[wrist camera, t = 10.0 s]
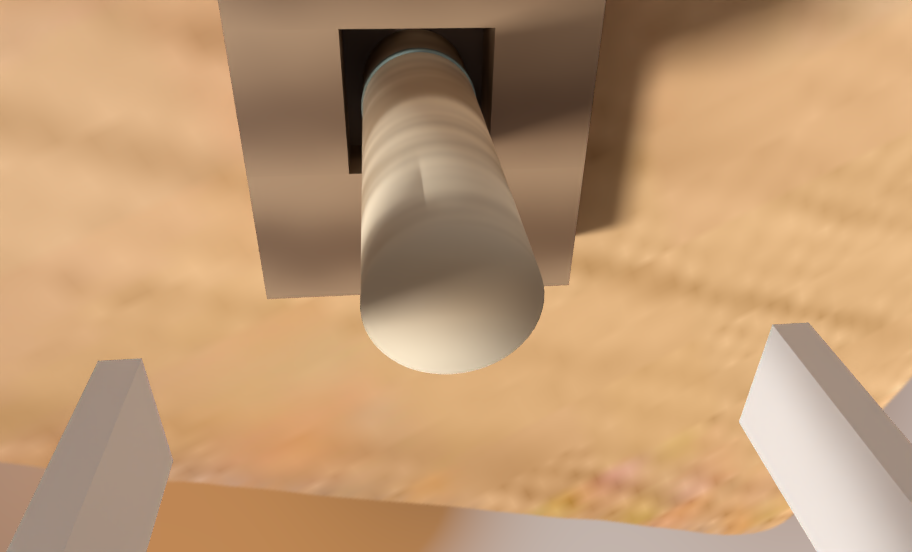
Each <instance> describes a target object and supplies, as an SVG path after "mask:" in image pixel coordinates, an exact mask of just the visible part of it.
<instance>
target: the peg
mask: <svg viewBox="0 0 912 552" xmlns="http://www.w3.org/2000/svg"><path fill="white" fill-rule="evenodd" d="M361 111H362V118H363V121H362V206H361V292H360V311H361V317H362V321H363V324H364V327H365V330H366V332H367V334H368V335H369V337H370V339H371V340H372V341H373V343H374V344H375V345H376V346H377V347H378V348H379V349H380V351H381V352H383V353H384V354H385V355H386V356H388V357H389V358H390V359H392V360H394V361H395V362H397V363H399V364H401V365H403V366H406V367H408V368H411V369H414V370H417V371H421V372H426V373H433V374H457V373H465V372H470V371H474V370H478V369H481V368H484V367H487V366H489V365H491V364H494V363H496V362H498V361H499V360H501V359H503V358H505V357H506V356H508V355H509V354H511V353H512V352H513V351H515V350H516V349H517V348H518V347H519V346H520V345H521V344H522V343H523V342H524V341H525V340H526V339H527V338H528V337H529V335H530V334H531V332H532V331H533V330H534V328H535V326H536V324H537V322H538V320H539V318H540V315H541V312H542V309H543V303H544V285H543V280H542V276H541V273H540V270H539V267H538V265H537V262H536V259H535V257H534V254H533V251H532V248H531V246H530V243H529V240H528V237H527V235H526V232H525V229H524V227H523V224H522V221H521V218H520V216H519V213H518V210H517V208H516V205H515V202H514V199H513V197H512V194H511V191H510V188H509V186H508V183H507V180H506V178H505V175H504V172H503V169H502V167H501V164H500V161H499V159H498V156H497V153H496V150H495V148H494V145H493V142H492V139H491V137H490V134H489V131H488V129H487V126H486V123H485V120H484V118H483V115H482V112H481V110H480V107H479V104H478V101H477V99H476V93H475V90H474V87H473V84H472V82H471V80H470V77H469V76H468V74H467V71H466V69H465V66H464V63H463V61H462V59H461V56H460V54H459V53H458V51H457V50H456V49H455V47H454V46H453V45H452V44H451V43H450V42H449V41H448V40H447V39H445V38H444V37H442V36H440V35H438V34H436V33H434V32H431V31H428V30H424V29H406V30H401V31H398V32H395V33H393V34H391V35H389V36H387V37H386V38H384V39H383V40H381V41H380V42H379V43H378V44H377V45H376V46H375V48H374V49H373V50H372V52H371V53H370V55H369V57H368V59H367V61H366V64H365V67H364V72H363V92H362V99H361Z"/></svg>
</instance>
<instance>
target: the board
mask: <svg viewBox="0 0 912 552" xmlns="http://www.w3.org/2000/svg"><path fill="white" fill-rule="evenodd" d="M218 4H219V10H220V16H221V22H222V28H223V34H224V40H225V46H226V52H227V59H228V65H229V71H230V77H231V83H232V89H233V95H234V101H235V107H236V113H237V119H238V125H239V131H240V137H241V143H242V149H243V155H244V162H245V168H246V174H247V180H248V186H249V192H250V198H251V204H252V210H253V216H254V222H255V228H256V234H257V240H258V246H259V252H260V259H261V265H262V271H263V277H264V283H265V289H266V295H267V299H279V298H301V297H322V296H343V295H360V292H361V206H362V121H363V118H362V111H361V99H362V92H363V72H364V67H365V64H366V61H367V59H368V57H369V55H370V53H371V52H372V50H373V49H374V48H375V46H376V45H377V44H378V43H379V42H380V41H381V40H383V39H384V38H386V37H387V36H389V35H391V34H393V33H395V32H398V31H401V30H406V29H424V30H428V31H431V32H434V33H436V34H438V35H440V36H442V37H444V38H445V39H447V40H448V41H449V42H450V43H451V44H452V45H453V46H454V47H455V49H456V50H457V51H458V53H459V54H460V56H461V59H462V61H463V63H464V66H465V69H466V71H467V74H468V76H469V77H470V80H471V82H472V84H473V87H474V90H475V93H476V99H477V101H478V104H479V107H480V110H481V112H482V115H483V118H484V120H485V123H486V126H487V129H488V131H489V134H490V137H491V139H492V142H493V145H494V148H495V150H496V153H497V156H498V159H499V161H500V164H501V167H502V169H503V172H504V175H505V178H506V180H507V183H508V186H509V188H510V191H511V194H512V197H513V199H514V202H515V205H516V208H517V210H518V213H519V216H520V218H521V221H522V224H523V227H524V229H525V232H526V235H527V237H528V240H529V243H530V246H531V248H532V251H533V254H534V257H535V259H536V262H537V265H538V267H539V270H540V273H541V276H542V280H543V285H544V286H558V285H569V279H570V271H571V264H572V256H573V248H574V241H575V233H576V225H577V218H578V210H579V203H580V195H581V187H582V180H583V172H584V164H585V157H586V149H587V142H588V134H589V126H590V119H591V111H592V103H593V96H594V88H595V81H596V73H597V65H598V58H599V50H600V42H601V35H602V27H603V20H604V12H605V4H606V0H218Z"/></svg>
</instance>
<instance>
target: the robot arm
mask: <svg viewBox="0 0 912 552" xmlns="http://www.w3.org/2000/svg"><path fill="white" fill-rule="evenodd" d="M739 423H740V425H741V426H742V428H743V430H744V431H745V433H746V435H747V436H748V438H749V440H750V441H751V443H752V445H753V446H754V448H755V450H756V451H757V453H758V455H759V456H760V458H761V460H762V461H763V463H764V465H765V466H766V468H767V470H768V471H769V473H770V475H771V476H772V478H773V480H774V481H775V483H776V485H777V486H778V488H779V490H780V491H781V493H782V495H783V496H784V498H785V500H786V501H787V503H788V505H789V506H790V508H791V510H792V511H793V513H794V515H795V516H796V518H797V520H798V521H799V523H800V525H801V526H802V528H803V530H804V531H805V533H806V534H807V536H808V538H809V540H810V541H811V543H812V545H813V546H814V548H815V549H816V551H817V552H912V444H911V443H910V441H909V440H908V439H907V438H906V437H905V436H904V435H903V433H902V432H901V431H900V430H899V428H898V427H897V426H896V425H895V424H894V423H893V421H892V420H891V419H890V418H889V417H888V416H887V414H886V413H885V412H884V411H883V410H882V408H881V407H880V406H879V405H878V404H877V403H876V401H875V400H874V399H873V398H872V397H871V396H870V394H869V393H868V392H867V391H866V390H865V388H864V387H863V386H862V385H861V384H860V383H859V381H858V380H857V379H856V378H855V377H854V375H853V374H852V373H851V372H850V371H849V370H848V368H847V367H846V366H845V365H844V364H843V363H842V361H841V360H840V359H839V358H838V357H837V355H836V354H835V353H834V352H833V351H832V350H831V348H830V347H829V346H828V345H827V344H826V343H825V341H824V340H823V339H822V338H821V337H820V335H819V334H818V333H817V332H816V331H815V330H814V328H813V327H812V326H811V325H810V324H809V323H793V324H775V325H772V328H771V331H770V334H769V336H768V339H767V342H766V345H765V348H764V351H763V354H762V357H761V360H760V363H759V366H758V368H757V371H756V374H755V377H754V380H753V383H752V386H751V389H750V392H749V395H748V397H747V400H746V403H745V406H744V409H743V412H742V415H741V418H740V421H739ZM172 463H173V458H172V455H171V452H170V449H169V445H168V442H167V439H166V436H165V432H164V429H163V426H162V423H161V420H160V416H159V413H158V410H157V407H156V403H155V400H154V397H153V394H152V390H151V387H150V384H149V381H148V377H147V374H146V371H145V368H144V364H143V361H142V359H123V360H105V361H98V362H97V364H96V367H95V369H94V371H93V373H92V375H91V377H90V379H89V381H88V383H87V385H86V387H85V389H84V391H83V394H82V396H81V398H80V400H79V402H78V404H77V406H76V408H75V410H74V412H73V414H72V416H71V418H70V420H69V423H68V425H67V427H66V429H65V431H64V433H63V435H62V437H61V439H60V441H59V443H58V445H57V447H56V450H55V452H54V454H53V456H52V458H51V460H50V462H49V464H48V466H47V468H46V470H45V472H44V474H43V477H42V479H41V481H40V483H39V485H38V487H37V489H36V491H35V493H34V495H33V497H32V499H31V501H30V504H29V506H28V508H27V510H26V512H25V514H24V516H23V518H22V520H21V522H20V525H19V527H18V528H17V531H16V533H15V535H14V537H13V539H12V541H11V543H10V545H9V547H8V549H7V551H6V552H146V551H147V547H148V544H149V541H150V537H151V534H152V530H153V527H154V524H155V520H156V517H157V513H158V510H159V507H160V503H161V500H162V497H163V493H164V489H165V486H166V483H167V480H168V476H169V473H170V469H171V466H172Z"/></svg>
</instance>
